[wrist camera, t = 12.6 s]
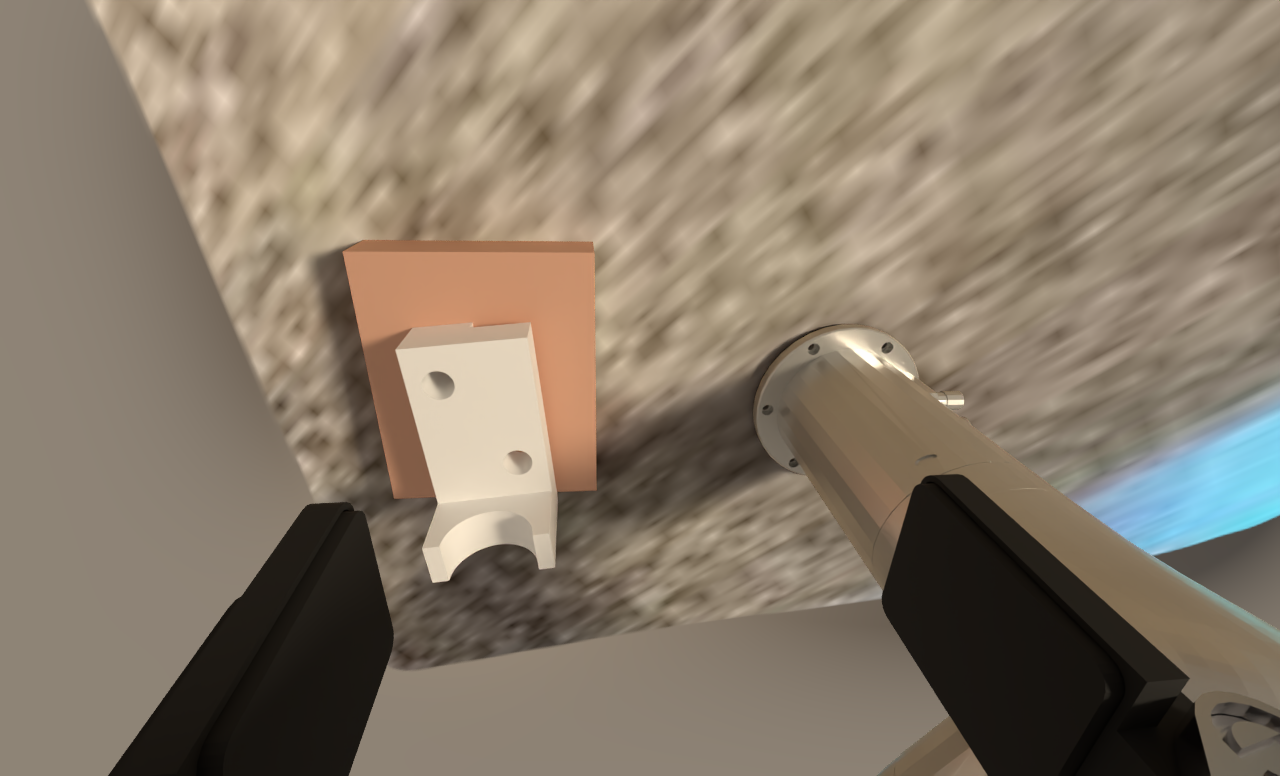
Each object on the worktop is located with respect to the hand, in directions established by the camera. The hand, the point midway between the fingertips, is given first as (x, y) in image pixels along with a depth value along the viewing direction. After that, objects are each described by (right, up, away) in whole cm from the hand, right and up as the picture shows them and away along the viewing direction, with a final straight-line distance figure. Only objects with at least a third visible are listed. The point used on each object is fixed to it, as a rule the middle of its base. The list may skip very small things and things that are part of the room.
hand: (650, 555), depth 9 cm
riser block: (-10, +5, +29) cm, 31 cm away
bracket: (-10, +1, +26) cm, 28 cm away
